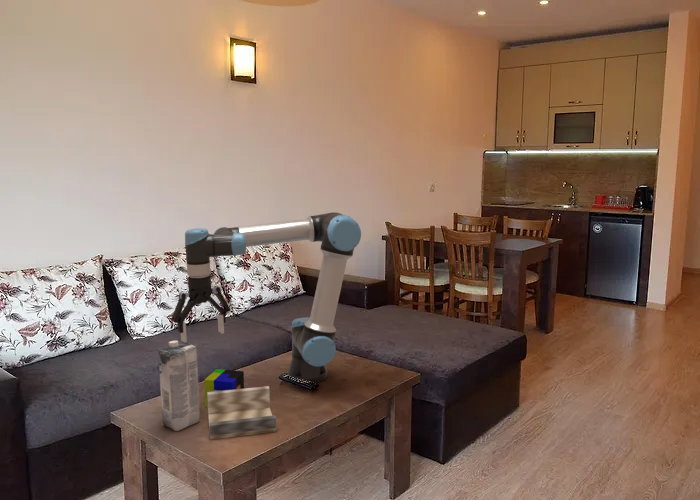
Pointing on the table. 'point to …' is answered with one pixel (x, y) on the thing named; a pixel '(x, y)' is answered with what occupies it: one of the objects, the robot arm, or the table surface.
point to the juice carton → (179, 385)
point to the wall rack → (240, 412)
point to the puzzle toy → (223, 381)
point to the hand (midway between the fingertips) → (203, 337)
